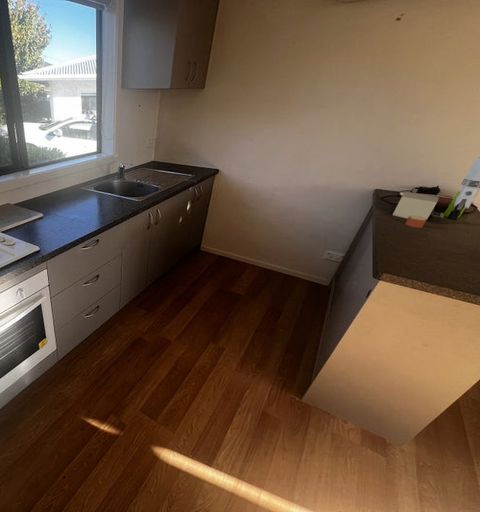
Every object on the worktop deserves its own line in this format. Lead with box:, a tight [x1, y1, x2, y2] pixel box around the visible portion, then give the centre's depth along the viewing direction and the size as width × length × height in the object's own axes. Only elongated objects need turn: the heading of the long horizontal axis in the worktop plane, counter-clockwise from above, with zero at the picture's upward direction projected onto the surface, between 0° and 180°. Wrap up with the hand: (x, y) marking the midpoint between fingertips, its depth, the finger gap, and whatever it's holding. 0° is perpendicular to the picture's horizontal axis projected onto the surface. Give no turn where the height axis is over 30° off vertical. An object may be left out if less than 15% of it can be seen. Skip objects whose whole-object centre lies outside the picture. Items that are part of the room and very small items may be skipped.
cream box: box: [392, 191, 440, 219], centre depth 156 cm, size 13×14×11 cm
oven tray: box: [426, 208, 445, 222], centre depth 155 cm, size 16×14×3 cm
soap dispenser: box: [443, 191, 466, 219], centre depth 153 cm, size 6×7×20 cm
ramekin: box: [404, 216, 427, 229], centre depth 146 cm, size 6×6×4 cm
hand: (451, 219), depth 148 cm, fingers closed
